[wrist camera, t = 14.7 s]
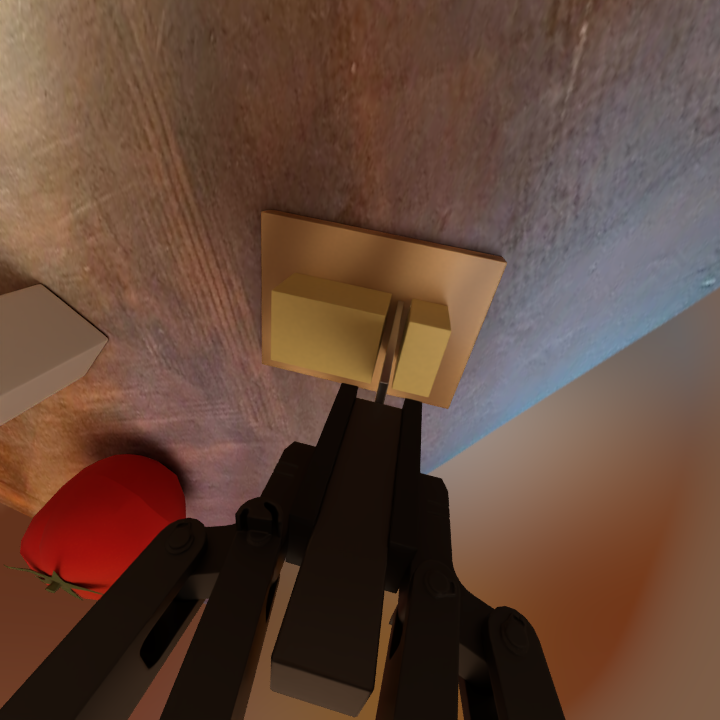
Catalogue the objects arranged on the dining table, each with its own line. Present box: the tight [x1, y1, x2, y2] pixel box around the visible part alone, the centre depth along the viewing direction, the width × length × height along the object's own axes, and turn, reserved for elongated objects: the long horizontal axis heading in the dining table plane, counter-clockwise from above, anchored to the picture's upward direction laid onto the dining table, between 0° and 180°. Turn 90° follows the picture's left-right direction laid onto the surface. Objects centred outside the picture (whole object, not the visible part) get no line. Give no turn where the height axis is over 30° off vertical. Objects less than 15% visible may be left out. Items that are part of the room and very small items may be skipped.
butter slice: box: [392, 299, 452, 397], centre depth 21 cm, size 2×5×4 cm, turn 171°
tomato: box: [6, 454, 186, 600], centre depth 36 cm, size 16×14×14 cm
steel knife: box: [270, 301, 404, 717], centre depth 15 cm, size 2×4×19 cm, turn 171°
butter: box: [271, 273, 392, 384], centre depth 22 cm, size 7×5×4 cm
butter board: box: [261, 209, 507, 409], centre depth 24 cm, size 16×12×2 cm
